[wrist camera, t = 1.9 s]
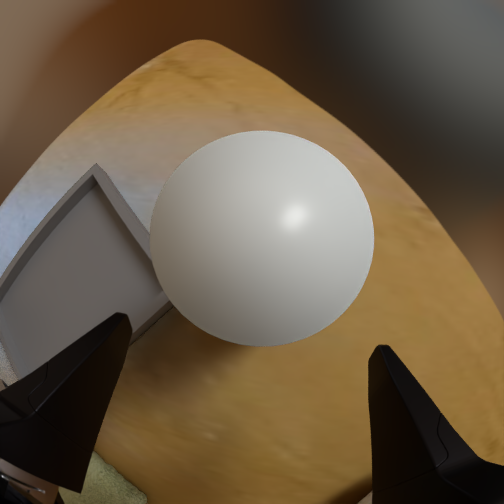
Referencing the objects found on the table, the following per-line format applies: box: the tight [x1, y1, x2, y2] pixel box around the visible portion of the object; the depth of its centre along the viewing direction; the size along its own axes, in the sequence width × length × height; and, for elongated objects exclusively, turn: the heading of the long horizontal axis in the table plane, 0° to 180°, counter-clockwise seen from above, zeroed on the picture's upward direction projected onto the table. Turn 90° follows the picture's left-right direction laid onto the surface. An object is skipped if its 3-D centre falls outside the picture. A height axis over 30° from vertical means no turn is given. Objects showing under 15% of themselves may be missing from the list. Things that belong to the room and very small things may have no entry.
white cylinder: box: [150, 131, 374, 346], centre depth 13 cm, size 6×6×13 cm
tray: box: [0, 163, 174, 380], centre depth 19 cm, size 20×14×2 cm
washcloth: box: [58, 451, 147, 504], centre depth 14 cm, size 13×18×3 cm
